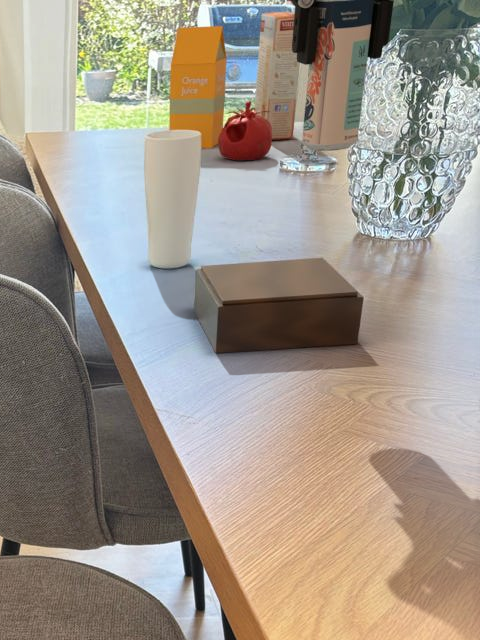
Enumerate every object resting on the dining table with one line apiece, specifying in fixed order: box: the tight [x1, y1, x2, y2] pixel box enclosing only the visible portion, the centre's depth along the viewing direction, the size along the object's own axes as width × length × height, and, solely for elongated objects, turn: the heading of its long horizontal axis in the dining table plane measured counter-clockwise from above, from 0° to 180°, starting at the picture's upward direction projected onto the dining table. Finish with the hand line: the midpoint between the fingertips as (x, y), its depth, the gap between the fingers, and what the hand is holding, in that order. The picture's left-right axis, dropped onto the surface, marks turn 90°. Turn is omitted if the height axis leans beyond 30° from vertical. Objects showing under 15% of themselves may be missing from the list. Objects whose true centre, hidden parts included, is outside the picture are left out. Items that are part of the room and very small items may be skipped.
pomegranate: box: [217, 100, 273, 161], centre depth 179 cm, size 10×10×9 cm
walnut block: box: [193, 257, 364, 354], centre depth 103 cm, size 14×14×5 cm
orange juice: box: [168, 25, 228, 149], centre depth 191 cm, size 8×9×20 cm
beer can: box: [301, 0, 374, 152], centre depth 83 cm, size 5×5×12 cm
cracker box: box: [253, 11, 301, 141], centre depth 194 cm, size 14×6×21 cm, turn 178°
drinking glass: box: [143, 129, 202, 270], centre depth 122 cm, size 7×7×15 cm
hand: (338, 57), depth 83 cm, fingers closed on beer can, 4 cm apart
